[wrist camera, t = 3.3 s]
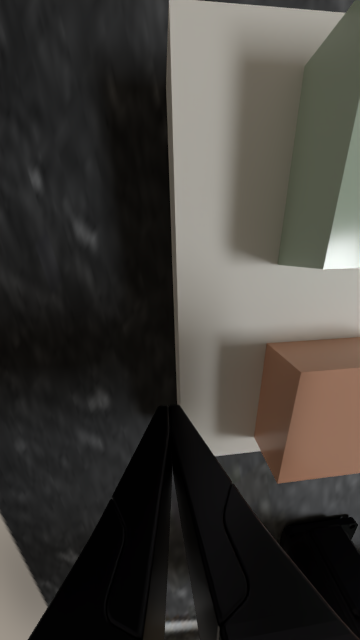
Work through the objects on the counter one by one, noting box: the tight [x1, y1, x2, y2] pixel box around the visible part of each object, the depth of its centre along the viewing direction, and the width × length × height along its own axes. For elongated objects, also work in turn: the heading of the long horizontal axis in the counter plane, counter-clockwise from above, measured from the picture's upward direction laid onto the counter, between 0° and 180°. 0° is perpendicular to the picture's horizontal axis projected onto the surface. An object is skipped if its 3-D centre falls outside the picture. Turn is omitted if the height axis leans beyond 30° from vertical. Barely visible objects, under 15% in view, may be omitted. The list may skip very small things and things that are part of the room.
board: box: [166, 0, 360, 456], centre depth 9 cm, size 15×12×2 cm
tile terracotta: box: [254, 337, 360, 484], centre depth 8 cm, size 5×5×2 cm
